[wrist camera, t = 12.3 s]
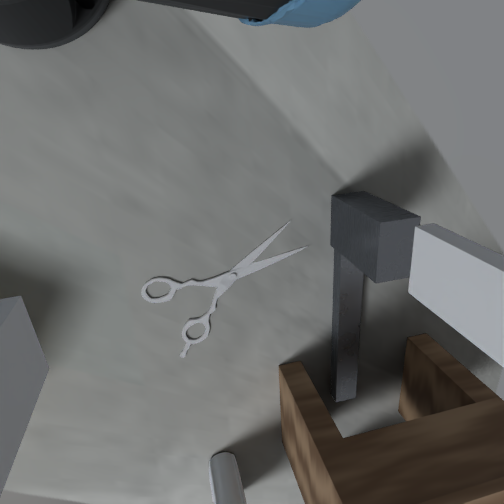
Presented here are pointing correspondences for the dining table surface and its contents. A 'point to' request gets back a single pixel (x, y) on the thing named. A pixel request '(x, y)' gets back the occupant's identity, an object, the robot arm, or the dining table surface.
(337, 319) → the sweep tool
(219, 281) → the scissors
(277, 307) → the dining table surface
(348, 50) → the dining table surface
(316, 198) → the dining table surface
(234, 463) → the photo printer
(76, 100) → the dining table surface
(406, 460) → the cabinet
